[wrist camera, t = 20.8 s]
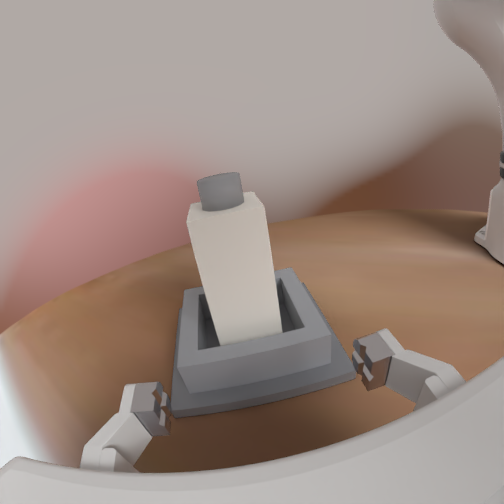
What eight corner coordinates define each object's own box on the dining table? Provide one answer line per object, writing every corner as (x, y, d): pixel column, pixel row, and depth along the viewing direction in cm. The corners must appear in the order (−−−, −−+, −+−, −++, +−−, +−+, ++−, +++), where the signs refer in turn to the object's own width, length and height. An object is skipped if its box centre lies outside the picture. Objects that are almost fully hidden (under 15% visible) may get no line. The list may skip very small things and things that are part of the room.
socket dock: (304, 290, 33) (301, 258, 31) (355, 378, 20) (359, 341, 18) (182, 315, 32) (171, 285, 30) (175, 417, 19) (155, 385, 17)
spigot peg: (272, 314, 28) (248, 166, 22) (284, 348, 23) (259, 175, 18) (221, 325, 27) (185, 179, 22) (225, 360, 23) (179, 191, 17)
